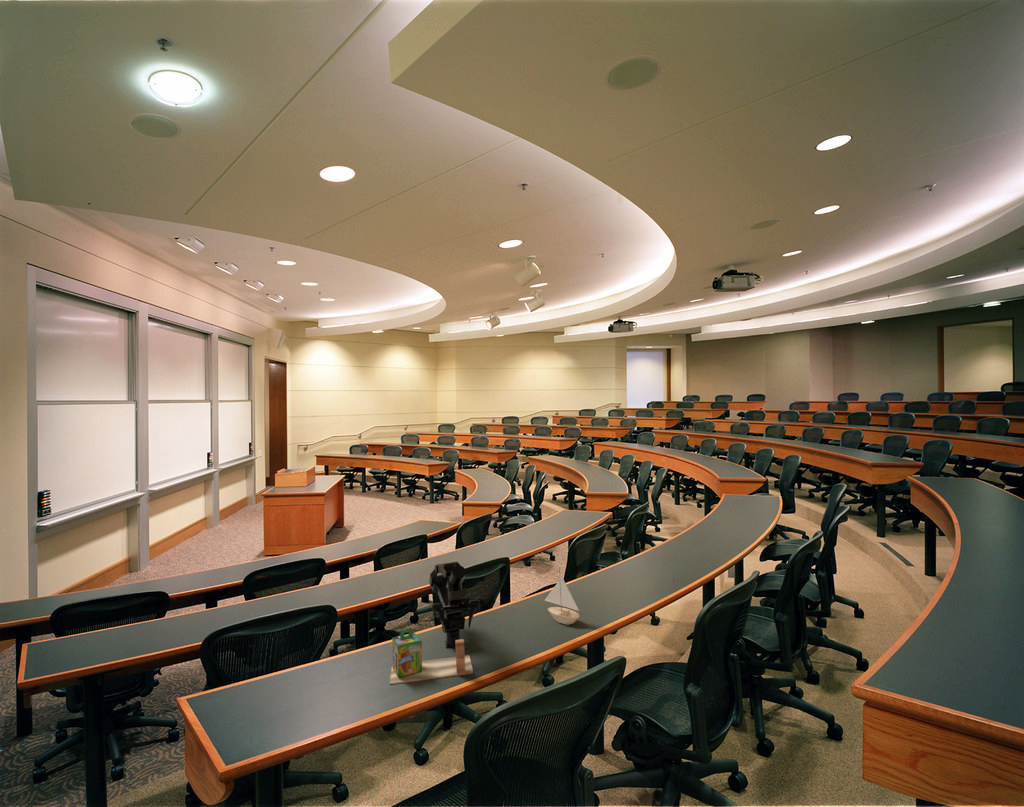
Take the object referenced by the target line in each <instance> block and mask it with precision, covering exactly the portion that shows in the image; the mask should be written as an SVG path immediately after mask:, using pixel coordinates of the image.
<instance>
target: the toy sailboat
mask: <svg viewBox="0 0 1024 807" xmlns="http://www.w3.org/2000/svg"><path fill="white" fill-rule="evenodd" d="M558 570H559V571H558V572H559V580H558V581H557V583H556V584H555V586H554V587H553V588H552V589H551V591H550V592H549V594H548V595H547V596H546V598H545V599H544V601H545V602H549V603H552V604H555V605H558V606H551V607H548V608H547V611H548V613H550V614H549V615H551V616H552V618H553V619H554V620H555V621H556V622H557V623H559V624H561V623H562V624H563V625H567V626H570V624H571V625H572V624H574V623H575V622H577V621H578V619H579V618H580V614H579V613H578V612H580V609H579V607H578V605H577V604H576V602H575V600H574V597H573V595H572V593H571V591H570V589H569V587H568V585H567V584H566V582H565V579H564V578H563V575H562V574H561V566H559V568H558ZM562 624H561V625H562Z"/></svg>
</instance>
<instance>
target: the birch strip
mask: <svg viewBox="0 0 1024 807" xmlns="http://www.w3.org/2000/svg"><path fill="white" fill-rule="evenodd" d="M460 639H461V640H455V642H456V647H455V656H452V657H445V658H437V659H435V658H434V659H430V660H429V659H428V660H422V672H420V673H416V674H412V675H408V676H404V677H401V678H398V676H397V674H396V673H395V671H394V669H393V664H392V665H391V670H390V671H391V672H390V679H389V685H397V684H406V683H412V682H419V681H420V682H421V681H427V680H435V679H442V678H450V677H456V676H457V677H458V676H465V675H472V674H474V669H473V665H472V660H471V656H470V654H467V655H465V640H464V638H460Z"/></svg>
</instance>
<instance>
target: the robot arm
mask: <svg viewBox="0 0 1024 807" xmlns="http://www.w3.org/2000/svg"><path fill="white" fill-rule="evenodd" d="M466 574H467V570H466V568H465V567H464V566H462V565H461V564H460V563H459V562H458V561H452V562H446V563H445V562H444V563H438V564H435V565H434V569H433V570H432V571H431V572H430V574H429V580H428V581H429V587H430V588H431V590H432V592H434V593H437V595H438V598H439V601H440V602H436V603H433V604H432V617H435V618H437V619H439V621H440V622H441V630H442V631H443V633H444V634H446V635H445V636H446V637H445V638H446V640H444V641H445V648H446V649H450V648H456V642H455V640H461V639H462V638H461V630H465V623H466V617H465V615H464V613H463V610H468V629H470V628H471V625H472V620H473V617H474V616H475V615H476V614H477V612H480V608H481V603H480V602H481V601H480V600H479V599H478V598H477V599H469V603H464V598H467V597H468V591H467V588H468V587H466V588H465V587H464V588H462V587H463V585H462V583H463V582H464V579H465V578H466Z"/></svg>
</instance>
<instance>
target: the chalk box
mask: <svg viewBox="0 0 1024 807" xmlns="http://www.w3.org/2000/svg"><path fill="white" fill-rule="evenodd" d="M405 633H407V634H405ZM391 640H392V665H393V669H394V671H395V673H396V674H397V676H398V678H401V677H404V676H408V675H412V674H416V673H420V672H422V661H423V655H422V654H423V653H422V652H423V643H422V642H423V641H422V640H421V638H420V637H419V635H417V633H415V632H413V628H412V627H409V628H405V629H401V630H399V635H398V636H394V637H392V639H391Z"/></svg>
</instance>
